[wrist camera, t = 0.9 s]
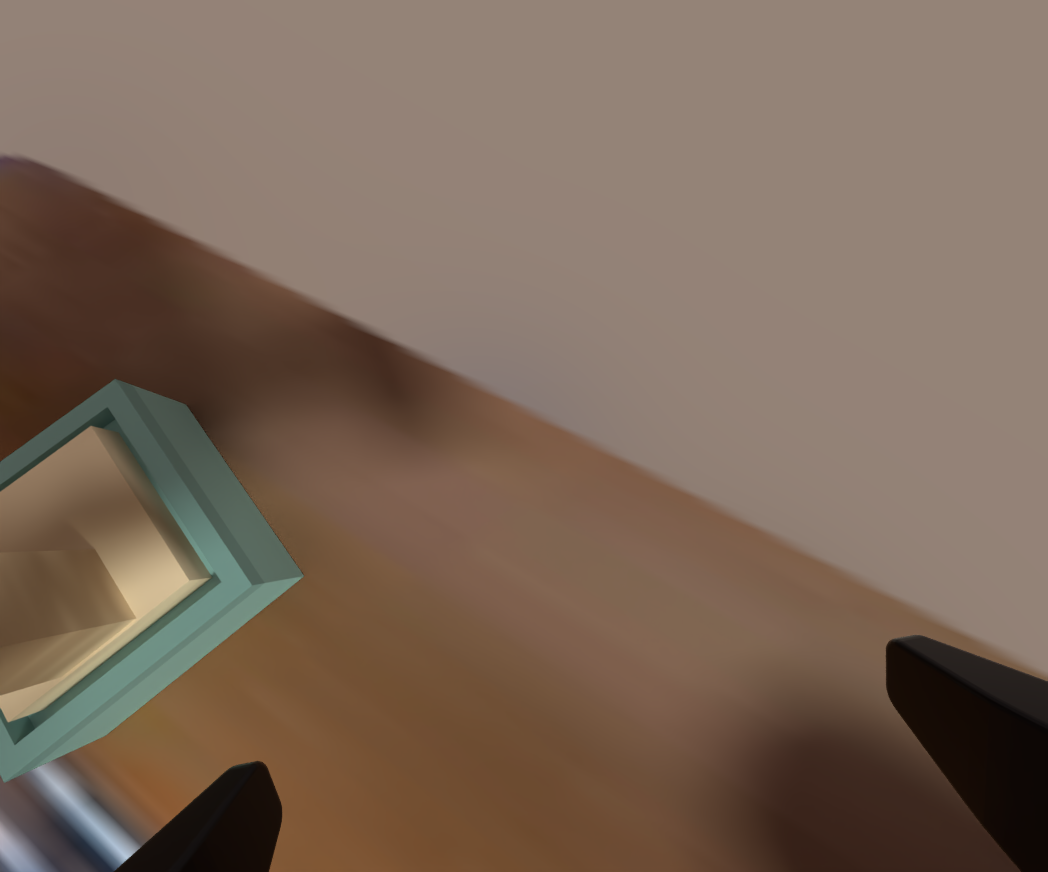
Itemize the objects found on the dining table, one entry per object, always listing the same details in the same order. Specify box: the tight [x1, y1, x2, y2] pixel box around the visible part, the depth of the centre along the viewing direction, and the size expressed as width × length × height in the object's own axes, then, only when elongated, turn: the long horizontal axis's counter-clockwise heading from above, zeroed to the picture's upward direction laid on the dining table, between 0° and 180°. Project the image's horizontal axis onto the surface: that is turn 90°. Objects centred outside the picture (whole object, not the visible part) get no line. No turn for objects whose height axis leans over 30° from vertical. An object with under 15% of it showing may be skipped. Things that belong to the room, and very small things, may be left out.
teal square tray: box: [0, 379, 304, 783], centre depth 19 cm, size 10×10×4 cm
